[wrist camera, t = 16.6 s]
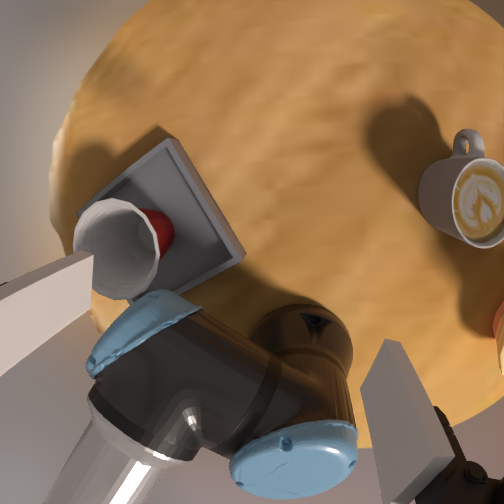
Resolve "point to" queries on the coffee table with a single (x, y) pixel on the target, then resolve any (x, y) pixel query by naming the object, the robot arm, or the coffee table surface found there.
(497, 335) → the potted cactus
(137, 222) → the plastic cup
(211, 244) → the bin
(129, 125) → the coffee table surface
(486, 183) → the coffee mug
